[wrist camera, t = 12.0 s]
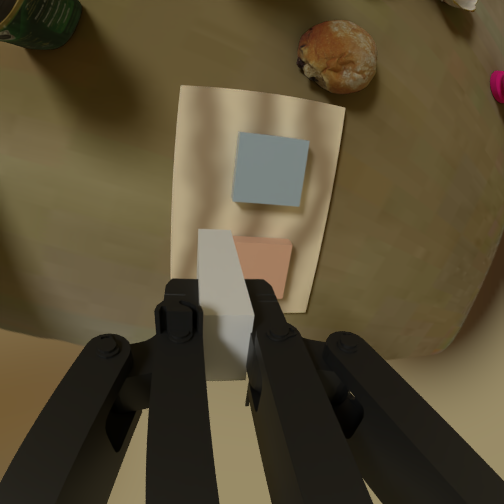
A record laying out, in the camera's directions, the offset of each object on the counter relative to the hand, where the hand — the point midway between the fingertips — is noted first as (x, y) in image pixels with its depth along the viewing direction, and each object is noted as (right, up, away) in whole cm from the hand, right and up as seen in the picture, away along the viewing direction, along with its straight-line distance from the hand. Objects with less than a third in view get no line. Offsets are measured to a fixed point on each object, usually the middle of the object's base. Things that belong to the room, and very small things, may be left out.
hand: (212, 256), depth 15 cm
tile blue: (0, +10, +20) cm, 23 cm away
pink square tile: (-2, -2, +26) cm, 26 cm away
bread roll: (+12, +25, +18) cm, 33 cm away
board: (+2, +5, +25) cm, 26 cm away
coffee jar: (-24, +29, +10) cm, 39 cm away
